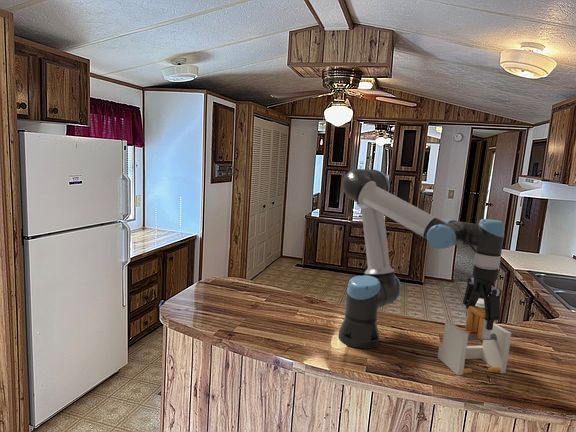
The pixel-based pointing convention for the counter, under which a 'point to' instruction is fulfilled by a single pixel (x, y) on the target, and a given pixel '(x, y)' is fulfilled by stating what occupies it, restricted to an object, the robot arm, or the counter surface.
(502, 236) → the robot arm
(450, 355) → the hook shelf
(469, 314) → the cord hank
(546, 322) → the counter surface
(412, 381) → the counter surface
